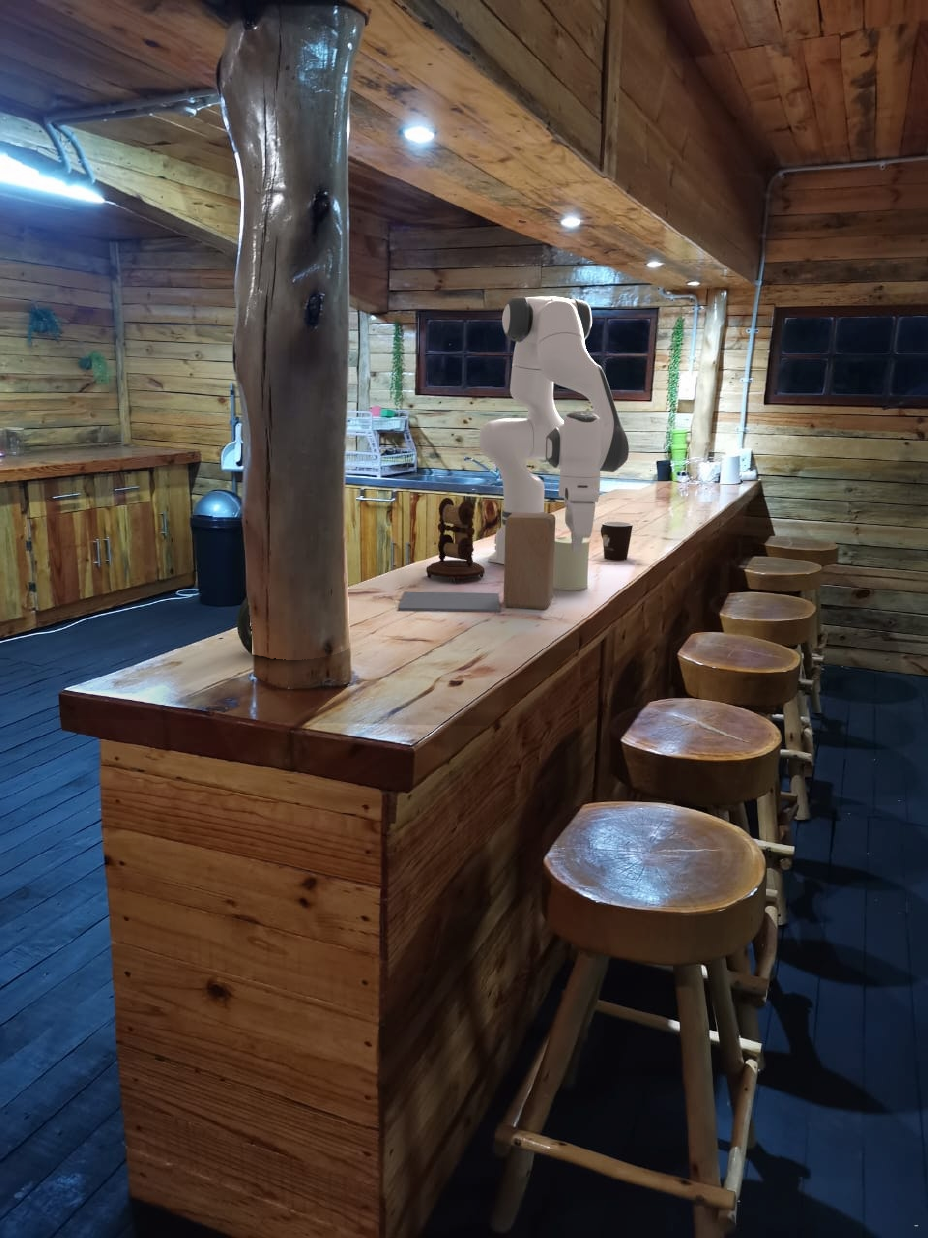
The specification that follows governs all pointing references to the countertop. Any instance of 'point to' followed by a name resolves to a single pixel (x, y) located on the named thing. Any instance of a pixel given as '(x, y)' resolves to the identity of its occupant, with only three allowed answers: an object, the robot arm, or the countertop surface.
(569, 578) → the can
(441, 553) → the wooden spool stand
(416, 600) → the mat
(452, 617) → the countertop surface
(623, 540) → the coffee mug
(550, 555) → the block
